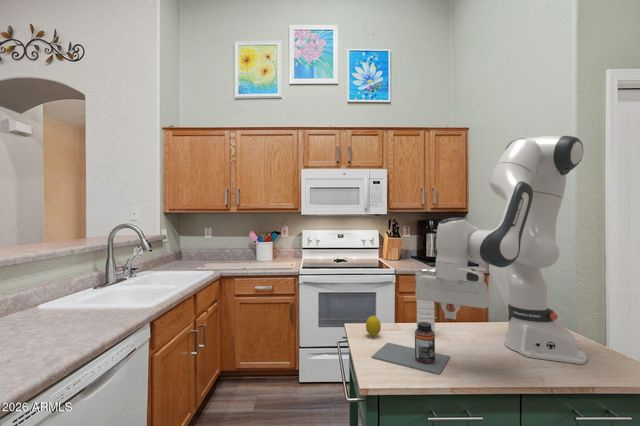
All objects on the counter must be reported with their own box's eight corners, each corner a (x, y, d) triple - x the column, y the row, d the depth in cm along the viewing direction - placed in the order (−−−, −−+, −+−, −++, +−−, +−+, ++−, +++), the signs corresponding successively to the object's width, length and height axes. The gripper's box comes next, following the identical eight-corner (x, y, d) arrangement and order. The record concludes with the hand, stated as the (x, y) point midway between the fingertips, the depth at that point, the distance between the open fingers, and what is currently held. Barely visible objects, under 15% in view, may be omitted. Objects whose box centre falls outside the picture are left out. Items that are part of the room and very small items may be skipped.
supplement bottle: (419, 354, 104) (419, 319, 104) (437, 359, 100) (437, 323, 101) (411, 360, 100) (411, 323, 100) (430, 366, 96) (430, 327, 96)
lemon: (363, 335, 123) (363, 314, 123) (375, 333, 125) (375, 312, 125) (370, 340, 118) (370, 318, 118) (383, 338, 120) (383, 316, 120)
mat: (450, 357, 103) (450, 355, 103) (440, 375, 91) (440, 373, 91) (387, 343, 114) (387, 342, 114) (371, 357, 103) (371, 356, 103)
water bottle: (421, 338, 119) (420, 270, 120) (414, 332, 126) (413, 268, 126) (443, 337, 120) (442, 270, 121) (435, 331, 126) (434, 267, 127)
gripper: (413, 269, 98) (412, 315, 98) (489, 277, 88) (488, 327, 88) (417, 267, 104) (416, 310, 103) (489, 273, 94) (488, 321, 94)
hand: (450, 318), depth 96 cm, fingers closed
